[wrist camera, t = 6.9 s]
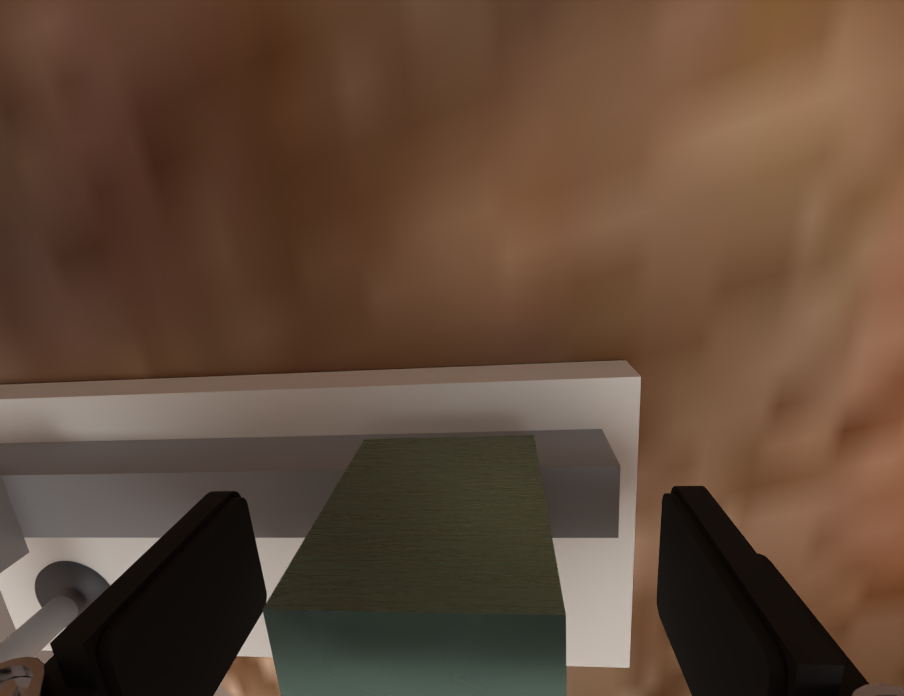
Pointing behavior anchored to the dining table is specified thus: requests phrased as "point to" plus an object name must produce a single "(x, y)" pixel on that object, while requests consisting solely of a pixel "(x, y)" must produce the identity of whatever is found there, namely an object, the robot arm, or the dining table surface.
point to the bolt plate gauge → (300, 475)
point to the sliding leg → (425, 577)
